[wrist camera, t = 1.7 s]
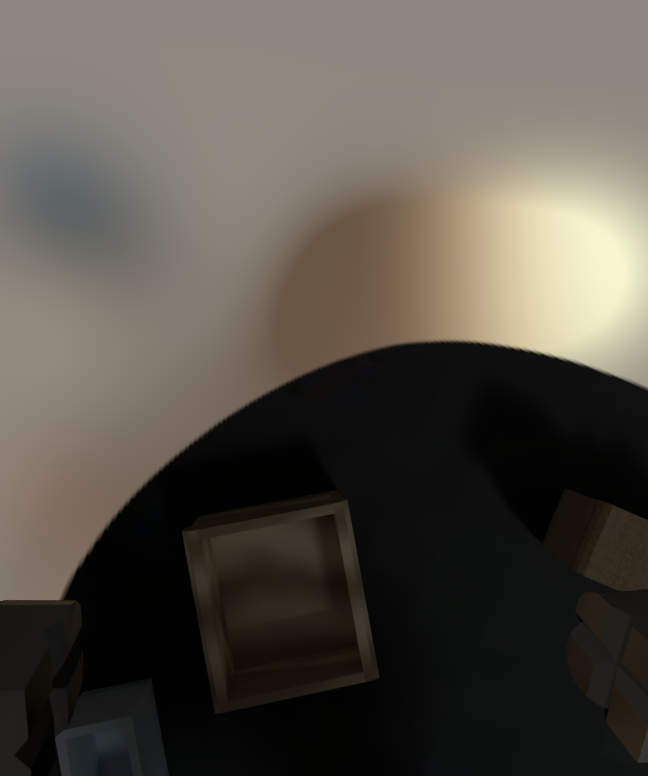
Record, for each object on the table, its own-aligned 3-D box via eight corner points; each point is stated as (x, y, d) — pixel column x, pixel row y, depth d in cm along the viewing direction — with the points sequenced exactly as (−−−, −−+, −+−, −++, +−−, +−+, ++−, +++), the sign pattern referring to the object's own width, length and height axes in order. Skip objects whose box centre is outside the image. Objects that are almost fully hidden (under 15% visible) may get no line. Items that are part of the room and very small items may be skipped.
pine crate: (370, 646, 44) (379, 679, 39) (224, 677, 43) (214, 715, 38) (341, 487, 44) (347, 500, 39) (194, 516, 43) (181, 532, 38)
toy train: (677, 601, 45) (784, 660, 35) (515, 533, 45) (578, 573, 35) (699, 547, 46) (811, 590, 36) (538, 477, 45) (607, 502, 35)
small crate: (171, 788, 43) (154, 840, 38) (103, 803, 42) (77, 858, 37) (151, 677, 43) (131, 715, 38) (82, 692, 42) (53, 732, 37)
